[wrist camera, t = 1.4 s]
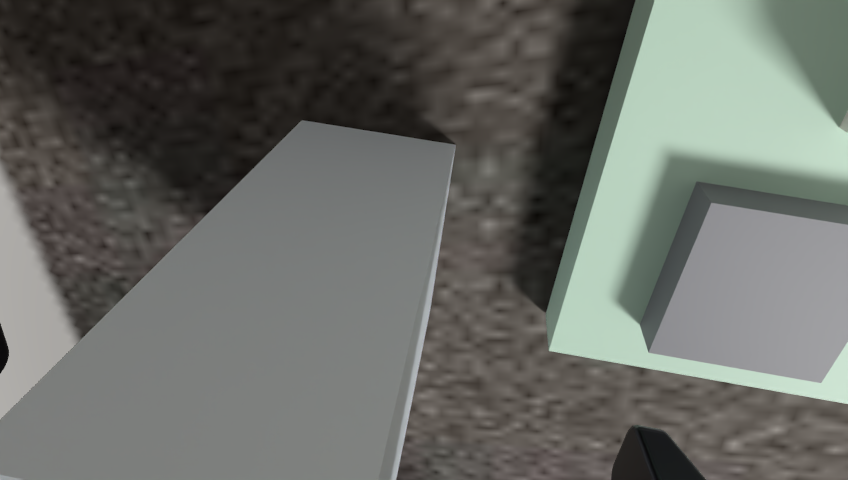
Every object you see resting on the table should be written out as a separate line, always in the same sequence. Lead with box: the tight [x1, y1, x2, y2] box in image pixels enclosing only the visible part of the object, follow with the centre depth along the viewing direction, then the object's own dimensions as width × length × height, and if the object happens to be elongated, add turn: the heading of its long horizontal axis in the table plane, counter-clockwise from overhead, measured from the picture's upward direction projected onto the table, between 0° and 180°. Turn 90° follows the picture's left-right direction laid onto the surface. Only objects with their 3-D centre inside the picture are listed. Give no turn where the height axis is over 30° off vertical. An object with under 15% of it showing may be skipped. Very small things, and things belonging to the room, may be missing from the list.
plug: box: [0, 120, 456, 480], centre depth 8 cm, size 4×3×9 cm
